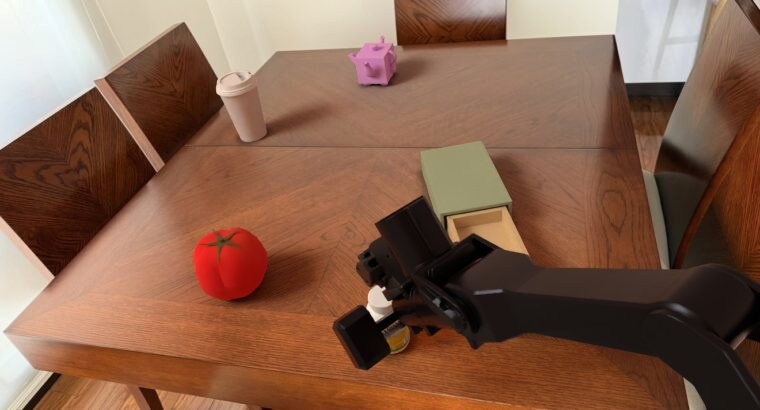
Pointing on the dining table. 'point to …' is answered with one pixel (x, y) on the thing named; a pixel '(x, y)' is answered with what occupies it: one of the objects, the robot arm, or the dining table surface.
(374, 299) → the supplement bottle
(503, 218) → the drawer
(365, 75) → the teapot
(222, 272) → the tomato
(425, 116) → the dining table surface
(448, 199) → the cabinet
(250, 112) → the coffee cup
